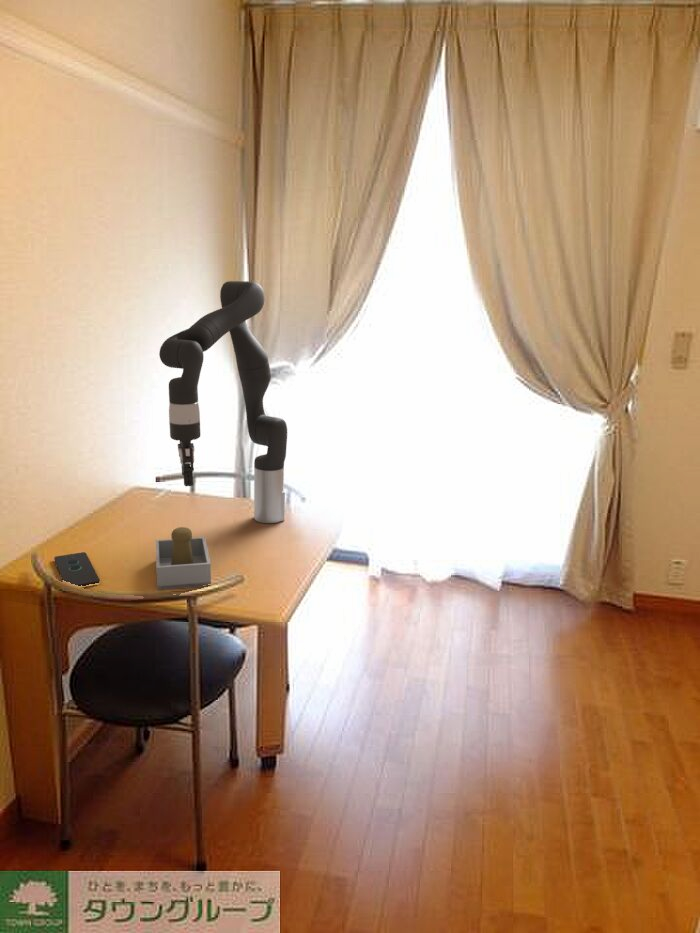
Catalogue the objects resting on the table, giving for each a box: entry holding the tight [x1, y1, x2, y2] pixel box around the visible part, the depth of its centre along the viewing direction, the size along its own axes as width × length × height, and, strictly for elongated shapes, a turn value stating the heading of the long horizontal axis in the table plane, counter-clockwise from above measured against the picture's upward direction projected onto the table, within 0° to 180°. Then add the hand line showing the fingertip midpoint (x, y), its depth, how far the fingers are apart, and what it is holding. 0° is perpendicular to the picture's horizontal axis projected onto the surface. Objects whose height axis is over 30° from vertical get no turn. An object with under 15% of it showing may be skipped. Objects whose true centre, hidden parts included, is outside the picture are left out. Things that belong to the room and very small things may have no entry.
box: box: [155, 536, 212, 591], centre depth 179 cm, size 13×18×6 cm
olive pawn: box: [171, 526, 194, 565], centre depth 179 cm, size 6×6×11 cm
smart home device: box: [53, 551, 101, 586], centre depth 178 cm, size 8×2×20 cm
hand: (187, 480), depth 179 cm, fingers open, 8 cm apart
